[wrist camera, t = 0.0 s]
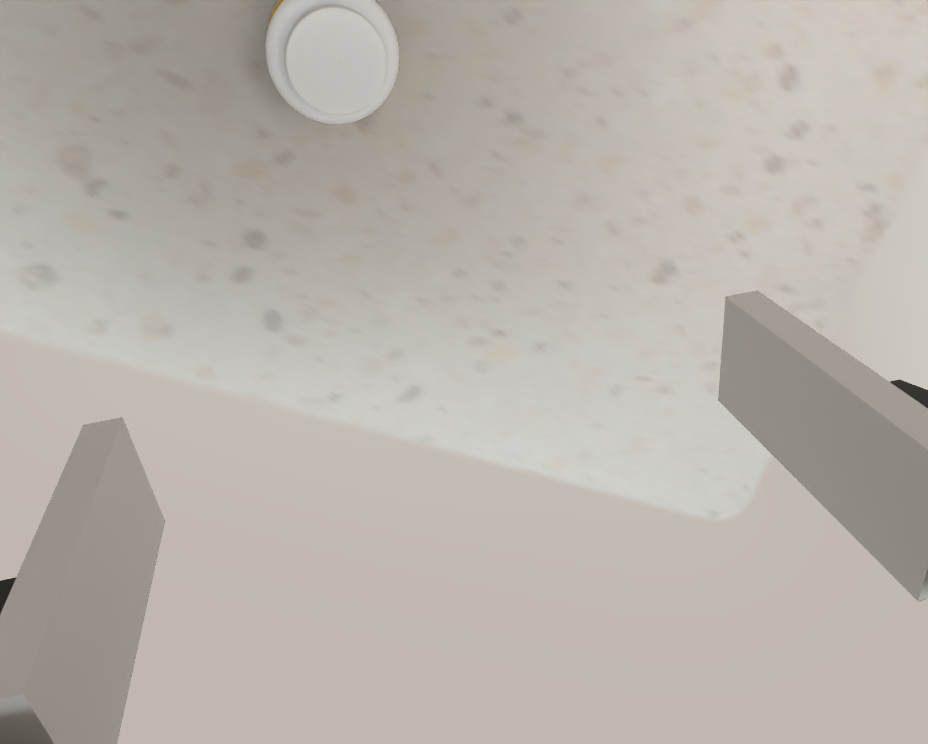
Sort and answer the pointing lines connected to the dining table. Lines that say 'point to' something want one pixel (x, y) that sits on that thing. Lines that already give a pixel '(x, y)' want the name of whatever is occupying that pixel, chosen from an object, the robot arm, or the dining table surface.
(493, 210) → the dining table surface
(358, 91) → the supplement bottle
